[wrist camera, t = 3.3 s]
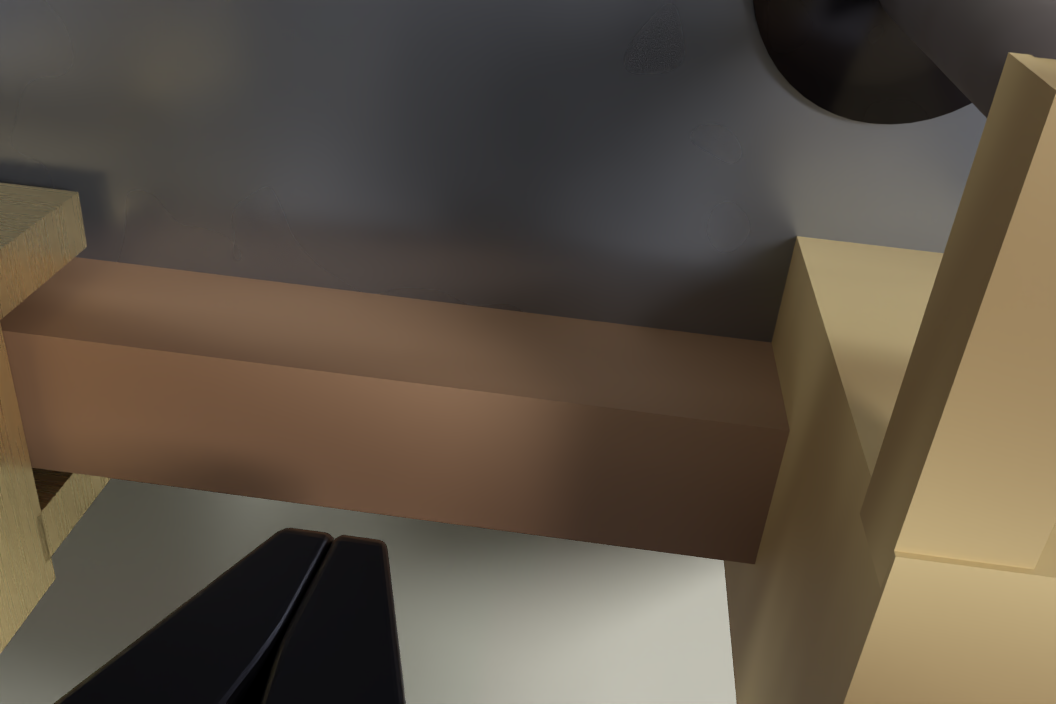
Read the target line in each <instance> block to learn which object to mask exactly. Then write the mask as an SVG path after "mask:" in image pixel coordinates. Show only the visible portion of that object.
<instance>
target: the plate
mask: <svg viewBox="0 0 1056 704" xmlns="http://www.w3.org/2000/svg"><path fill="white" fill-rule="evenodd" d="M986 120H987V118H986V117H985V116H984V115H983V114H982V113H981V112H980V111H979V110H978V108H977V107H976V106H975V105H974V104H973V103H972V102H971V101H970V100H969V99H968V98H967V97H966V96H965V95H964V94H963V93H962V92H961V91H960V90H959V89H958V88H957V86H956V85H955V84H954V83H953V82H952V81H951V80H950V79H949V78H948V77H947V76H946V75H945V74H944V73H943V72H942V71H941V70H940V69H939V68H938V67H937V66H936V64H935V63H934V62H933V61H932V60H931V59H930V58H929V57H928V56H927V55H926V54H925V53H924V52H923V51H922V50H921V49H920V48H919V47H918V46H917V45H916V44H915V42H914V41H913V40H912V39H911V38H910V37H909V36H908V35H907V34H906V33H905V32H904V31H903V30H902V29H901V28H900V27H899V26H898V25H897V24H896V23H895V22H894V20H893V19H892V18H891V17H890V16H889V15H888V14H887V13H886V12H885V10H884V9H883V7H882V6H881V3H880V1H879V0H0V183H8V184H16V185H25V186H33V187H42V188H50V189H58V190H67V191H75V192H78V193H79V199H80V205H81V212H82V218H83V224H84V231H85V237H86V243H87V247H86V248H85V249H84V250H83V251H81V252H80V253H79V254H78V255H77V256H75V257H79V258H87V259H95V260H103V261H111V262H119V263H128V264H136V265H144V266H152V267H160V268H168V269H176V270H185V271H193V272H201V273H209V274H217V275H225V276H233V277H242V278H250V279H258V280H266V281H274V282H282V283H290V284H299V285H307V286H315V287H323V288H331V289H339V290H348V291H356V292H364V293H372V294H380V295H388V296H396V297H405V298H413V299H421V300H429V301H437V302H445V303H453V304H462V305H470V306H478V307H486V308H494V309H502V310H511V311H519V312H527V313H535V314H543V315H551V316H559V317H568V318H576V319H584V320H592V321H600V322H608V323H616V324H625V325H633V326H641V327H649V328H657V329H665V330H673V331H682V332H690V333H698V334H706V335H714V336H722V337H731V338H739V339H747V340H755V341H763V342H771V343H772V338H773V334H774V330H775V326H776V322H777V317H778V313H779V309H780V305H781V301H782V296H783V292H784V288H785V284H786V279H787V275H788V271H789V267H790V263H791V258H792V254H793V250H794V246H795V242H796V237H797V236H800V237H809V238H817V239H826V240H834V241H843V242H851V243H860V244H868V245H877V246H886V247H894V248H903V249H911V250H920V251H928V252H937V253H944V251H945V247H946V244H947V241H948V238H949V235H950V232H951V229H952V226H953V223H954V220H955V216H956V213H957V210H958V207H959V204H960V201H961V198H962V195H963V192H964V189H965V185H966V182H967V179H968V176H969V173H970V170H971V167H972V164H973V161H974V158H975V154H976V151H977V148H978V145H979V142H980V139H981V136H982V133H983V130H984V127H985V123H986Z"/></svg>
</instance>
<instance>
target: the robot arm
mask: <svg viewBox="0 0 1056 704" xmlns="http://www.w3.org/2000/svg"><path fill="white" fill-rule="evenodd" d="M54 704H406V700H405V691H404V683H403V674H402V666H401V658H400V649H399V641H398V632H397V624H396V616H395V607H394V599H393V590H392V582H391V574H390V565H389V557H388V550H387V546H386V544H385V543H384V542H383V541H381V540H377V539H369V538H362V537H355V536H347V535H341V536H339V537H337V538H336V539H335V540H334V538H333V537H332V536H331V535H330V534H328V533H325V532H318V531H310V530H303V529H295V528H285V529H283V530H280V531H278V532H277V533H275V534H274V535H273V536H271V537H270V538H269V539H268V540H266V541H265V542H264V543H262V544H261V545H260V546H258V547H257V548H256V549H255V550H253V551H252V552H251V553H249V554H248V555H247V556H245V557H244V558H243V559H242V560H240V561H239V562H238V563H236V564H235V565H234V566H232V567H231V568H230V569H228V570H227V571H226V572H225V573H223V574H222V575H221V576H219V577H218V578H217V579H215V580H214V581H213V582H212V583H210V584H209V585H208V586H206V587H205V588H204V589H202V590H201V591H200V592H198V593H197V594H196V595H195V596H193V597H192V598H191V599H189V600H188V601H187V602H185V603H184V604H183V605H182V606H180V607H179V608H178V609H176V610H175V611H174V612H172V613H171V614H170V615H168V616H167V617H166V618H165V619H163V620H162V621H161V622H159V623H158V624H157V625H155V626H154V627H153V628H152V629H150V630H149V631H148V632H146V633H145V634H144V635H142V636H141V637H140V638H138V639H137V640H136V641H135V642H133V643H132V644H131V645H129V646H128V647H127V648H125V649H124V650H123V651H122V652H120V653H119V654H118V655H116V656H115V657H114V658H112V659H111V660H110V661H109V662H107V663H106V664H105V665H103V666H102V667H101V668H99V669H98V670H97V671H95V672H94V673H93V674H92V675H90V676H89V677H88V678H86V679H85V680H84V681H82V682H81V683H80V684H79V685H77V686H76V687H75V688H73V689H72V690H71V691H69V692H68V693H67V694H65V695H64V696H63V697H62V698H60V699H59V700H58V701H56V702H55V703H54Z"/></svg>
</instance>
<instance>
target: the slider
mask: <svg viewBox="0 0 1056 704" xmlns="http://www.w3.org/2000/svg"><path fill="white" fill-rule="evenodd" d="M86 247H87V243H86V237H85V231H84V224H83V218H82V212H81V205H80V199H79V193H78V192H75V191H67V190H58V189H50V188H42V187H33V186H25V185H16V184H8V183H0V320H1V319H2V318H3V317H5V316H6V315H7V314H8V313H9V312H11V311H12V310H13V309H14V308H15V307H16V306H18V305H19V304H20V303H21V302H22V301H23V300H25V299H26V298H27V297H28V296H29V295H31V294H32V293H33V292H34V291H35V290H36V289H38V288H39V287H40V286H41V285H42V284H44V283H45V282H46V281H47V280H48V279H49V278H51V277H52V276H53V275H54V274H55V273H57V272H58V271H59V270H60V269H61V268H62V267H64V266H65V265H66V264H67V263H68V262H70V261H71V260H72V259H73V258H74V257H75V256H77V255H78V254H79V253H80V252H81V251H83V250H84V249H85V248H86ZM110 479H111V478H106V477H99V476H91V475H84V474H76V473H69V472H62V471H54V470H47V469H39V468H32V467H31V462H30V458H29V453H28V449H27V444H26V439H25V435H24V430H23V425H22V421H21V416H20V412H19V407H18V402H17V398H16V393H15V388H14V384H13V379H12V374H11V370H10V365H9V361H8V356H7V351H6V347H5V342H4V337H3V333H2V328H1V323H0V653H1V652H2V651H3V649H4V648H5V647H6V645H7V644H8V643H9V641H10V640H11V639H12V637H13V636H14V634H15V633H16V632H17V630H18V629H19V628H20V626H21V625H22V624H23V622H24V621H25V619H26V618H27V617H28V615H29V614H30V613H31V611H32V610H33V609H34V607H35V606H36V605H37V603H38V602H39V600H40V599H41V598H42V596H43V595H44V594H45V592H46V591H47V590H48V588H49V587H50V586H51V584H52V583H53V581H54V580H55V579H56V578H55V574H54V569H53V564H52V560H51V556H52V555H53V554H54V552H55V551H56V550H57V548H58V547H59V546H60V545H61V543H62V542H63V541H64V539H65V538H66V537H67V535H68V534H69V533H70V531H71V530H72V529H73V527H74V526H75V525H76V524H77V522H78V521H79V520H80V518H81V517H82V516H83V514H84V513H85V512H86V510H87V509H88V508H89V506H90V505H91V504H92V503H93V501H94V500H95V499H96V497H97V496H98V495H99V493H100V492H101V491H102V489H103V488H104V487H105V485H106V484H107V483H108V482H109V480H110Z"/></svg>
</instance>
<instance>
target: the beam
mask: <svg viewBox="0 0 1056 704" xmlns="http://www.w3.org/2000/svg"><path fill="white" fill-rule="evenodd" d="M879 1H880V3H881V6H882V7H883V9H884V10H885V12H886V13H887V14H888V15H889V16H890V17H891V18H892V19H893V20H894V22H895V23H896V24H897V25H898V26H899V27H900V28H901V29H902V30H903V31H904V32H905V33H906V34H907V35H908V36H909V37H910V38H911V39H912V40H913V41H914V42H915V44H916V45H917V46H918V47H919V48H920V49H921V50H922V51H923V52H924V53H925V54H926V55H927V56H928V57H929V58H930V59H931V60H932V61H933V62H934V63H935V64H936V66H937V67H938V68H939V69H940V70H941V71H942V72H943V73H944V74H945V75H946V76H947V77H948V78H949V79H950V80H951V81H952V82H953V83H954V84H955V85H956V86H957V88H958V89H959V90H960V91H961V92H962V93H963V94H964V95H965V96H966V97H967V98H968V99H969V100H970V101H971V102H972V103H973V104H974V105H975V106H976V107H977V108H978V110H979V111H980V112H981V113H982V114H983V115H984V116H985V117H986V118H987V120H986V123H985V127H984V130H983V133H982V136H981V139H980V142H979V145H978V148H977V151H976V154H975V158H974V161H973V164H972V167H971V170H970V173H969V176H968V179H967V182H966V185H965V189H964V192H963V195H962V198H961V201H960V204H959V207H958V210H957V213H956V216H955V220H954V223H953V226H952V229H951V232H950V235H949V238H948V241H947V244H946V247H945V251H944V253H937V252H928V251H920V250H911V249H903V248H894V247H886V246H877V245H868V244H860V243H851V242H843V241H834V240H826V239H817V238H809V237H800V236H797V237H796V242H795V246H794V250H793V254H792V258H791V263H790V267H789V271H788V275H787V279H786V284H785V288H784V292H783V296H782V301H781V305H780V309H779V313H778V317H777V322H776V326H775V330H774V334H773V338H772V343H771V342H763V341H755V340H747V339H739V338H731V337H722V336H714V335H706V334H698V333H690V332H682V331H673V330H665V329H657V328H649V327H641V326H633V325H625V324H616V323H608V322H600V321H592V320H584V319H576V318H568V317H559V316H551V315H543V314H535V313H527V312H519V311H511V310H502V309H494V308H486V307H478V306H470V305H462V304H453V303H445V302H437V301H429V300H421V299H413V298H405V297H396V296H388V295H380V294H372V293H364V292H356V291H348V290H339V289H331V288H323V287H315V286H307V285H299V284H290V283H282V282H274V281H266V280H258V279H250V278H242V277H233V276H225V275H217V274H209V273H201V272H193V271H185V270H176V269H168V268H160V267H152V266H144V265H136V264H128V263H119V262H111V261H103V260H95V259H87V258H79V257H74V258H73V259H72V260H71V261H70V262H68V263H67V264H66V265H65V266H64V267H62V268H61V269H60V270H59V271H58V272H57V273H55V274H54V275H53V276H52V277H51V278H49V279H48V280H47V281H46V282H45V283H44V284H42V285H41V286H40V287H39V288H38V289H36V290H35V291H34V292H33V293H32V294H31V295H29V296H28V297H27V298H26V299H25V300H23V301H22V302H21V303H20V304H19V305H18V306H16V307H15V308H14V309H13V310H12V311H11V312H9V313H8V314H7V315H6V316H5V317H3V318H2V319H1V320H0V323H1V328H2V333H3V337H4V342H5V347H6V351H7V356H8V361H9V365H10V370H11V374H12V379H13V384H14V388H15V393H16V398H17V402H18V407H19V412H20V416H21V421H22V425H23V430H24V435H25V439H26V444H27V449H28V453H29V458H30V462H31V467H32V468H39V469H47V470H54V471H62V472H69V473H76V474H84V475H91V476H99V477H106V478H114V479H121V480H129V481H136V482H144V483H151V484H158V485H166V486H173V487H181V488H188V489H196V490H203V491H211V492H218V493H226V494H233V495H241V496H248V497H255V498H263V499H270V500H278V501H285V502H293V503H300V504H308V505H315V506H323V507H330V508H338V509H345V510H352V511H360V512H367V513H375V514H382V515H390V516H397V517H405V518H412V519H420V520H427V521H434V522H442V523H449V524H457V525H464V526H472V527H479V528H487V529H494V530H502V531H509V532H517V533H524V534H531V535H539V536H546V537H554V538H561V539H569V540H576V541H584V542H591V543H599V544H606V545H614V546H621V547H628V548H636V549H643V550H651V551H658V552H666V553H673V554H681V555H688V556H696V557H703V558H710V559H718V560H724V567H725V578H726V589H727V601H728V612H729V623H730V634H731V645H732V656H733V667H734V678H735V689H736V700H737V704H1056V0H879Z"/></svg>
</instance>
